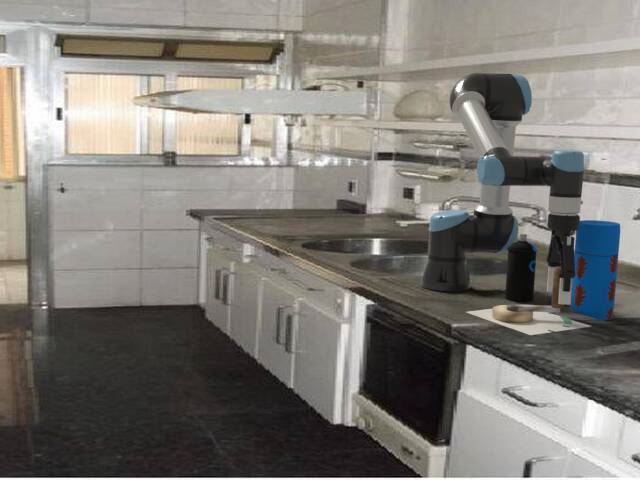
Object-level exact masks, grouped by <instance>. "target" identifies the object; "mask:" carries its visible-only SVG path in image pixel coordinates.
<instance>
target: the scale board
mask: <svg viewBox="0 0 640 480" xmlns="http://www.w3.org/2000/svg"><path fill="white" fill-rule="evenodd" d="M465 313H467V314H470V315H472V316H474V317H478V318H480V319H483V320H486V321H489V322H492V323H494V324H498V325H500V326H502V327H506V328H509V329H511V330H515V331H517V332H520V333H523V334H526V335H529V336H534V335H543V334H548V333H549V334H550V333H556V332H563V331H568V330H570V331H571V330H576V329H577V330H578V329H584V328H590V327H592V325H590V324H586V323H583V322H580V321H577V320H572V319H571V318H569V317H567V316H560V315H557V314H555V313H556V312H533V320H532V321H529V322H521V323H517V322H506V321H501V320H497V319H495V318H493V317H492V308H488V309H487V308H486V309H479V310H469V311H465Z"/></svg>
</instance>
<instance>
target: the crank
mask: <svg viewBox="0 0 640 480" xmlns="http://www.w3.org/2000/svg"><path fill="white" fill-rule="evenodd" d="M560 274H561V267H554V276H553V290H552V292H551V305H540V304H539V305H538V304H536V305H535V304H516V303H515V304H500V305H494V306H493V307H492V308H491V309H492V317H493V318H495V319H497V320H501V321H506V322H517V323H521V322H529V321H532V320H533V312H555V313H556V314H557V313H558V314H559V313H561V309H564V308H565V304H558V301H559V287H560V278H559V275H560Z"/></svg>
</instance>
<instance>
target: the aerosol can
mask: <svg viewBox="0 0 640 480" xmlns="http://www.w3.org/2000/svg"><path fill="white" fill-rule="evenodd" d="M527 236H528V234H527V233H523V232H522V233H519V239H518V240H517V241H516V242H515V243H512V244H511V245H510V246H509V247H508V248H507V249H508V252H507V263H506V264H507V265H506V276H505V277H506V278H505V279H506V281H505V296H504V299H505V300H507V301H510V302H515V303H531V302H533V301H534V296H535V295H534V294H535V281H536V264H537V252H538V248H536V246H535V245H534V244H532V243H531V242H529V241H527Z"/></svg>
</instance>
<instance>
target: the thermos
mask: <svg viewBox="0 0 640 480" xmlns="http://www.w3.org/2000/svg"><path fill="white" fill-rule="evenodd" d="M620 238H621V223H619V222H615V221H614V222H613V221H607V220H593V219H591V220H589V219H587V220H586V219H585V220H580V224H579V229H578V230H577V231H575V240H574V258H575V277H573V281H572V295H571V304H570V312H572V313H575V314H579V315H582V316H586V317H589V318H592V319H595V320H600V321H603V322H604V321H611V320H612V319H613V317H614V316H613V315H614V308H615V300H616V299H615V298H616V287H617V278H618V277H617V275H618V265H619V263H618V261H619V252H620V250H619V249H620V242H621V240H620Z"/></svg>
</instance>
